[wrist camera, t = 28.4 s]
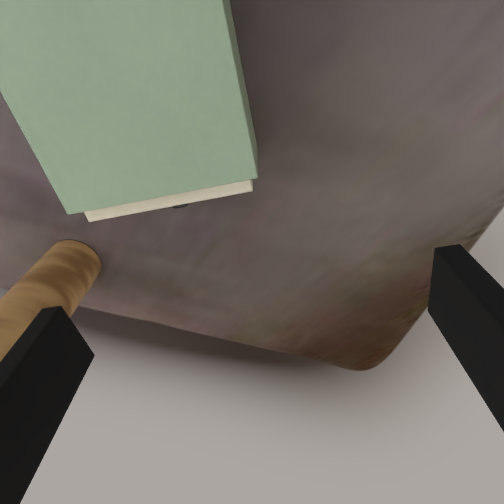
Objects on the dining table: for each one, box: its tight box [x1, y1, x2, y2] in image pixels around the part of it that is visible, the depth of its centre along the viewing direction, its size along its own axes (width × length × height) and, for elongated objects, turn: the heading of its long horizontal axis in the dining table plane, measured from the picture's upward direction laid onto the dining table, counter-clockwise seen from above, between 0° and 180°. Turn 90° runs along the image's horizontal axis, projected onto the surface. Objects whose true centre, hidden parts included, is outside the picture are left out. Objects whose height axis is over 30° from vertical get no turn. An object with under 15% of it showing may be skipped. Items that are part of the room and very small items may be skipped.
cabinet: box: [0, 0, 258, 215], centre depth 22 cm, size 16×14×8 cm
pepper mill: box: [0, 240, 101, 362], centre depth 28 cm, size 5×5×18 cm
